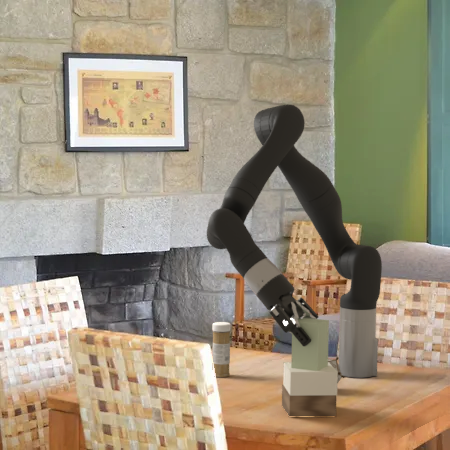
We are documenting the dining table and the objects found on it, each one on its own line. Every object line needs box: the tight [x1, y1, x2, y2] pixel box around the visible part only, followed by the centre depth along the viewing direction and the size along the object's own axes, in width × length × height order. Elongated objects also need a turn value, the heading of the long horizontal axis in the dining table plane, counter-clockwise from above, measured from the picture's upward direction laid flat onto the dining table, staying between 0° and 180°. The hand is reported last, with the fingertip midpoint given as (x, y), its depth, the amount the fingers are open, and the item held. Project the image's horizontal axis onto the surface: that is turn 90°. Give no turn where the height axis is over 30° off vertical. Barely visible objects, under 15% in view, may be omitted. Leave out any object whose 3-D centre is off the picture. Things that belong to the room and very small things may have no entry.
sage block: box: [290, 318, 330, 371], centre depth 207 cm, size 6×6×10 cm
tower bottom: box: [281, 384, 338, 417], centre depth 208 cm, size 10×10×5 cm
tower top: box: [282, 361, 338, 396], centre depth 207 cm, size 10×10×5 cm
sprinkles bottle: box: [211, 321, 232, 378], centre depth 241 cm, size 5×5×13 cm
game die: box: [328, 356, 346, 385], centre depth 227 cm, size 9×8×10 cm
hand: (316, 340), depth 206 cm, fingers open, 8 cm apart
